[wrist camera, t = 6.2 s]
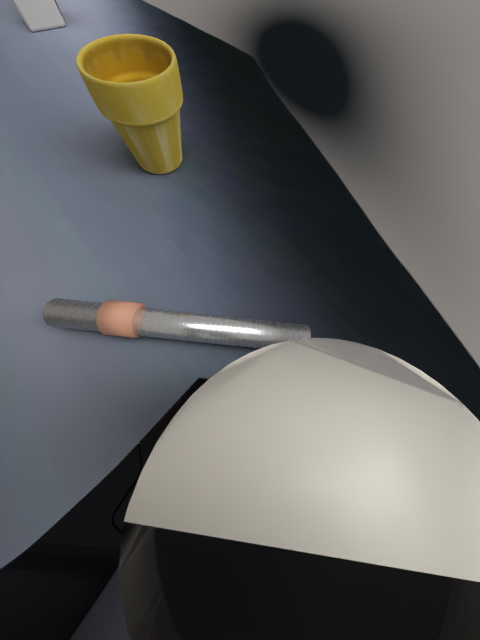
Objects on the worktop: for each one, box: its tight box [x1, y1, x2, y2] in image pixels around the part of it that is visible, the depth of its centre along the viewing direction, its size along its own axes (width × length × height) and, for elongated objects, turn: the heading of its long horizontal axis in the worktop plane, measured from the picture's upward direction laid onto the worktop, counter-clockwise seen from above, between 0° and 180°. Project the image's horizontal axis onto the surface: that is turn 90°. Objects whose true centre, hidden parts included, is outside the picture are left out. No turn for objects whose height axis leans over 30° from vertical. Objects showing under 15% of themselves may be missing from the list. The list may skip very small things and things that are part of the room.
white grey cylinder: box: [119, 338, 480, 640], centre depth 8 cm, size 5×5×13 cm
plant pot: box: [76, 34, 183, 174], centre depth 24 cm, size 10×10×10 cm
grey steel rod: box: [43, 298, 311, 349], centre depth 19 cm, size 4×26×4 cm, turn 84°
